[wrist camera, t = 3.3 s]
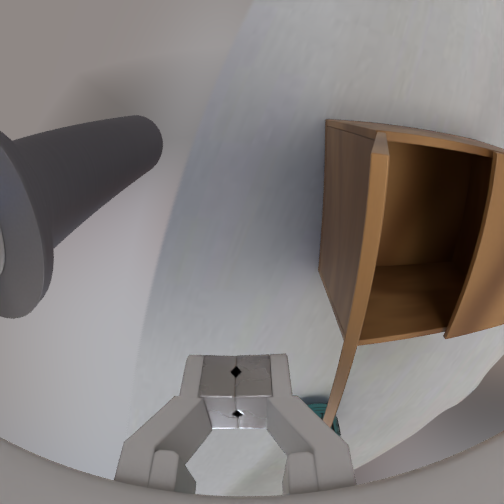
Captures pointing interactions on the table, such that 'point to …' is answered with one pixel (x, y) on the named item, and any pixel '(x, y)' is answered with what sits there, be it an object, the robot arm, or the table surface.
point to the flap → (363, 268)
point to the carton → (415, 231)
